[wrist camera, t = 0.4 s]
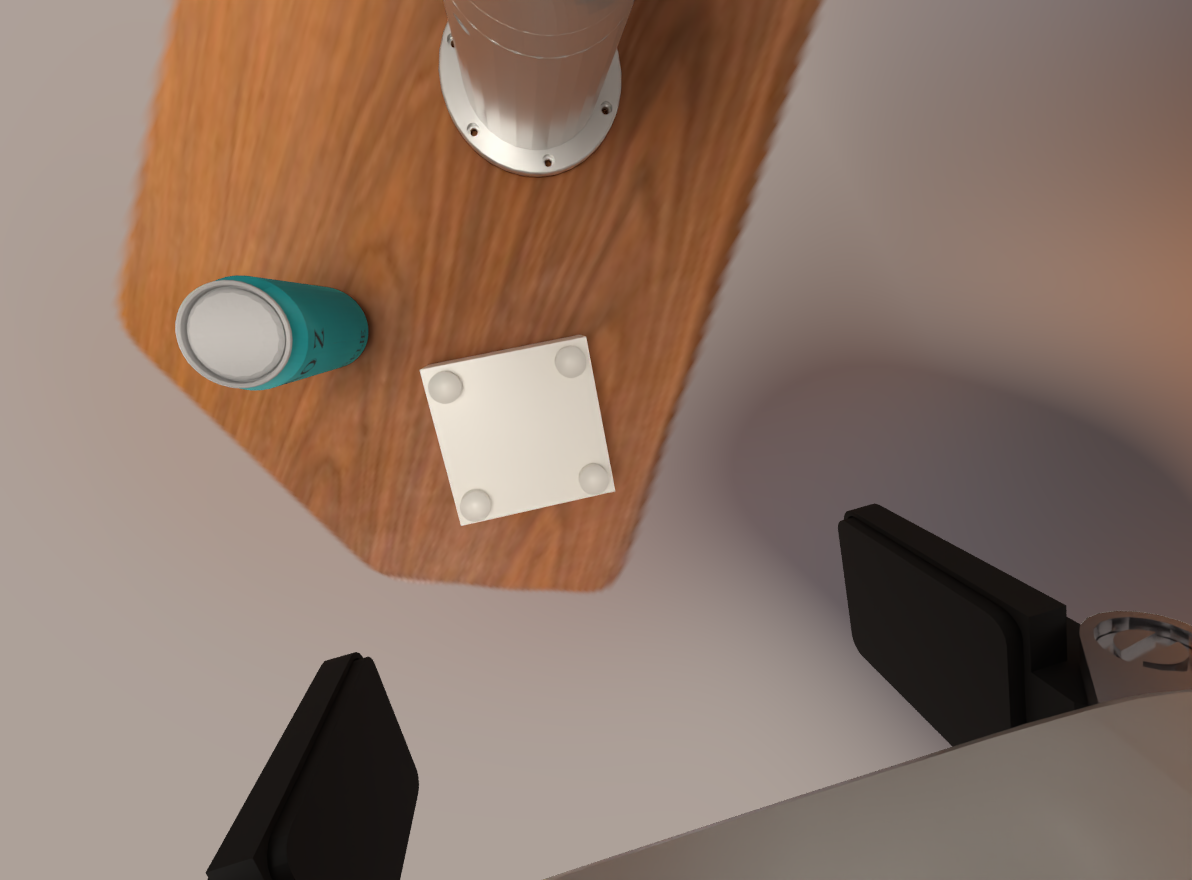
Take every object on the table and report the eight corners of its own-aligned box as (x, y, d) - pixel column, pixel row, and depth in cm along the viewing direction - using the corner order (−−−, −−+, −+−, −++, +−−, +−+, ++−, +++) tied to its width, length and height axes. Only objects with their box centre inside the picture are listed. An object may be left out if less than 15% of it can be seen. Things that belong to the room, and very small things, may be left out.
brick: (428, 364, 42) (417, 371, 38) (580, 334, 44) (587, 337, 39) (466, 507, 45) (459, 530, 41) (607, 476, 46) (617, 495, 42)
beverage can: (279, 340, 41) (146, 355, 26) (315, 272, 40) (199, 248, 25) (352, 380, 42) (264, 415, 28) (388, 315, 41) (317, 315, 27)
